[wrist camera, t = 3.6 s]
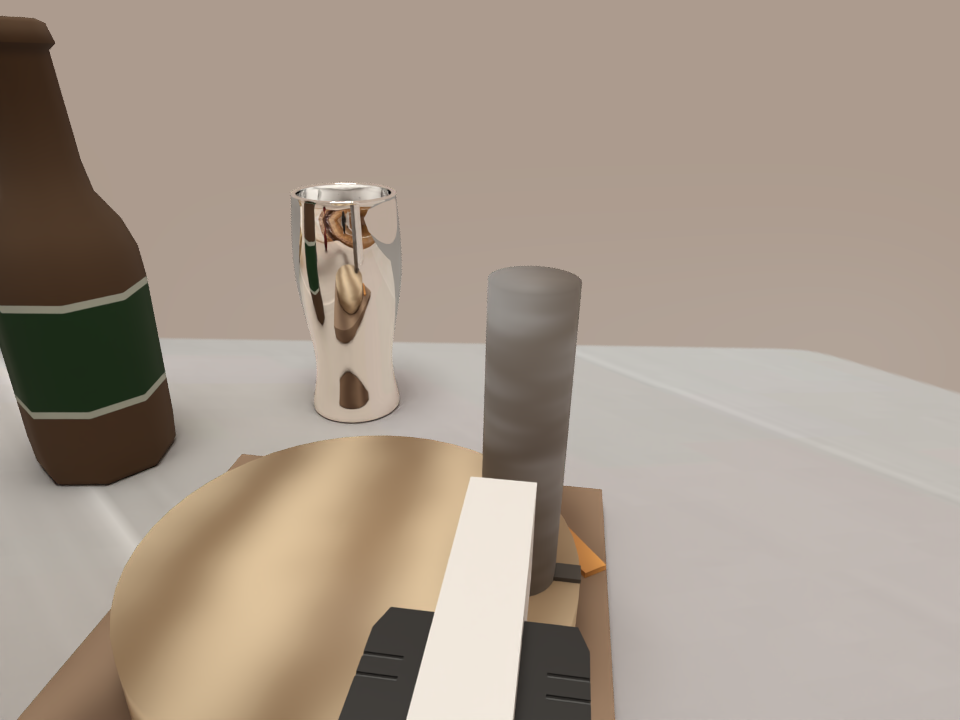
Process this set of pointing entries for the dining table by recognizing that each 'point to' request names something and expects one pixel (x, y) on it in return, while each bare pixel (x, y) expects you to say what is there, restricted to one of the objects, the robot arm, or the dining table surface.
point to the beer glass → (349, 293)
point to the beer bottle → (70, 289)
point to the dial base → (91, 668)
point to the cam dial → (346, 538)
